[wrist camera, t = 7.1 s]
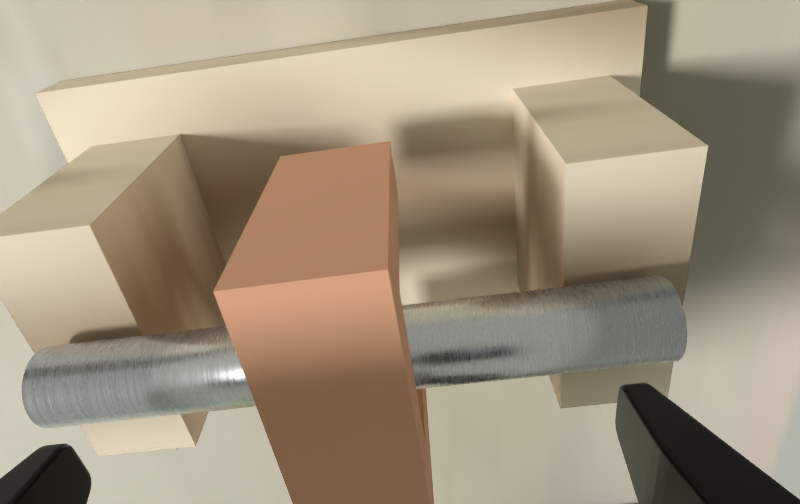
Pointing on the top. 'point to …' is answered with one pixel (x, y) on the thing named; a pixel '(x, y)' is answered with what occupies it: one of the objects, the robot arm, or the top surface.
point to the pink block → (330, 330)
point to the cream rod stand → (351, 126)
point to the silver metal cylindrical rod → (427, 337)
